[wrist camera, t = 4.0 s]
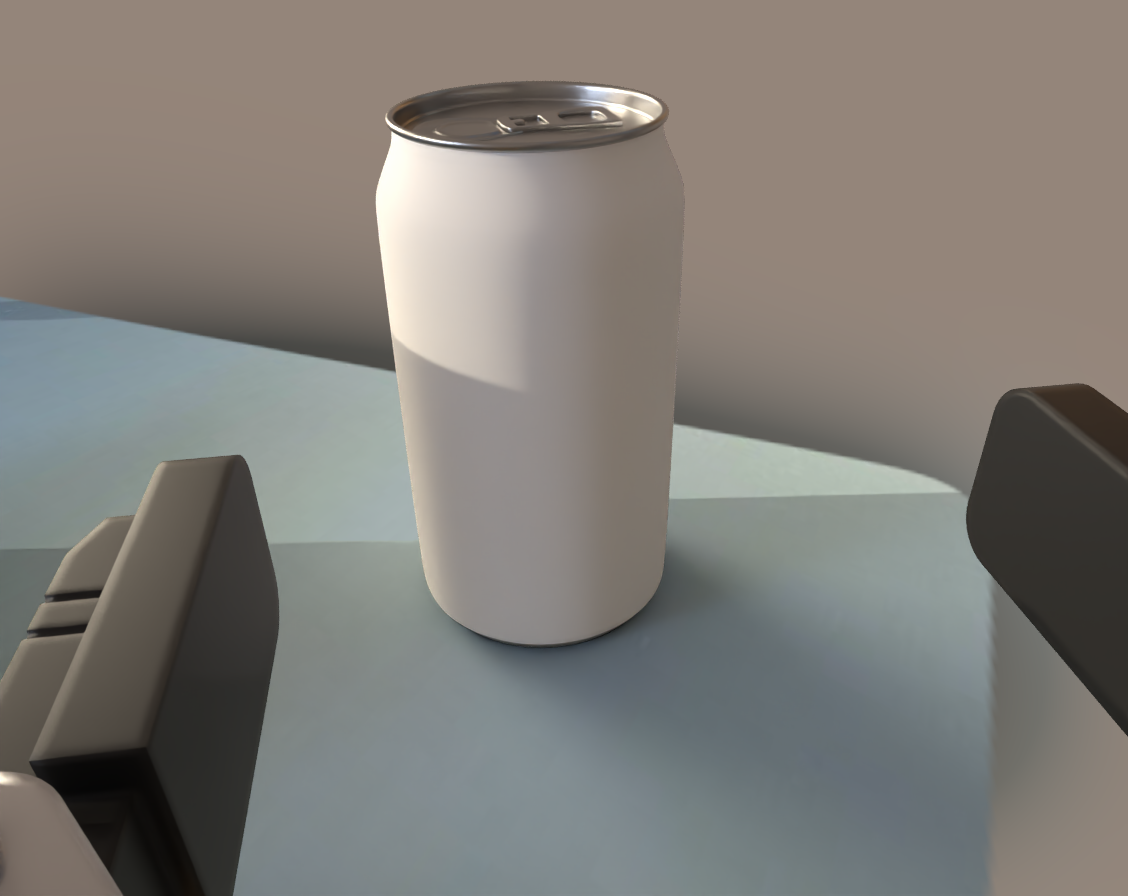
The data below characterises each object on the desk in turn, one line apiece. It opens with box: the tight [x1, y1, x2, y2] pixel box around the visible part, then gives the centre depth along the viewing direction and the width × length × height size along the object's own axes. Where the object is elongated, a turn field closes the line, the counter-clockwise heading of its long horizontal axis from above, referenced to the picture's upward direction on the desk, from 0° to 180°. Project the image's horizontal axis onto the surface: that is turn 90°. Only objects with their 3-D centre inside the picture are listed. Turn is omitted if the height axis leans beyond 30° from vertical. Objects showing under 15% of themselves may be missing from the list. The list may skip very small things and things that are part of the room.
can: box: [376, 81, 685, 648], centre depth 21 cm, size 6×6×12 cm
